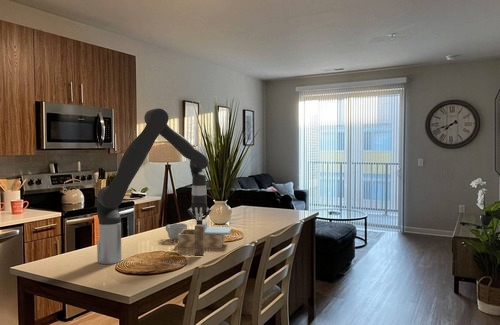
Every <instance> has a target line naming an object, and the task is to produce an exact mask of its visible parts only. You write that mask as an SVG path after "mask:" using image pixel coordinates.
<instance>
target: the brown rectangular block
mask: <svg viewBox="0 0 500 325" xmlns="http://www.w3.org/2000/svg"><path fill="white" fill-rule="evenodd" d="M194 229H195V247H194V256H195V257H204V256H205V255H204V254H205V253H206V249H205V248H206V247H205V225H197V224H195V226H194Z"/></svg>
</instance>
